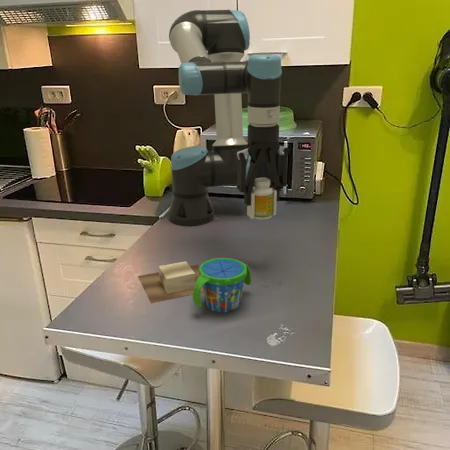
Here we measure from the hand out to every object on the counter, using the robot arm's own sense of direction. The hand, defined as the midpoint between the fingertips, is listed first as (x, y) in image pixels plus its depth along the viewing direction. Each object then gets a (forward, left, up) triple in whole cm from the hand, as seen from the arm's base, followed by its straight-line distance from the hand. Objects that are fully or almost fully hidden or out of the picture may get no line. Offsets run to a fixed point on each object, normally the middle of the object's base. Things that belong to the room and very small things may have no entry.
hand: (261, 214), depth 123 cm
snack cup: (+15, -17, -15) cm, 27 cm away
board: (+2, -24, -15) cm, 28 cm away
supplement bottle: (0, 0, -1) cm, 1 cm away
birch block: (+3, -24, -13) cm, 28 cm away
